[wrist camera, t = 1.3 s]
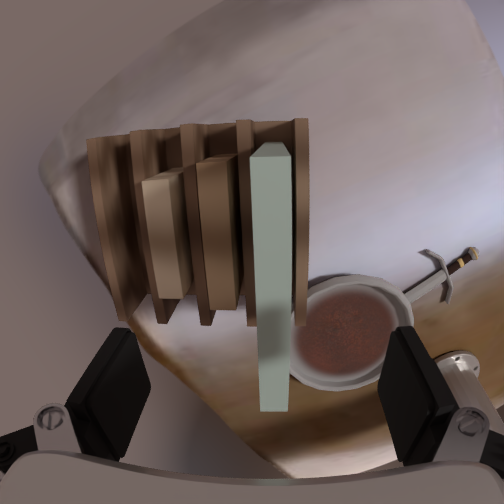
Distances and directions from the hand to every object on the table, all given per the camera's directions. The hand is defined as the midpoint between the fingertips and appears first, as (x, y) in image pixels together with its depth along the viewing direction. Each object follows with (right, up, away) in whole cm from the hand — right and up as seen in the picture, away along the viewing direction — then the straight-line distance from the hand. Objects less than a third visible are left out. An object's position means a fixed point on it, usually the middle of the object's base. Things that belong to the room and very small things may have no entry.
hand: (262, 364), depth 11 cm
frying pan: (+15, -3, +25) cm, 30 cm away
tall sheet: (+2, +8, +20) cm, 22 cm away
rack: (-5, +8, +22) cm, 24 cm away
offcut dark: (-2, +8, +21) cm, 22 cm away
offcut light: (-7, +8, +21) cm, 24 cm away
